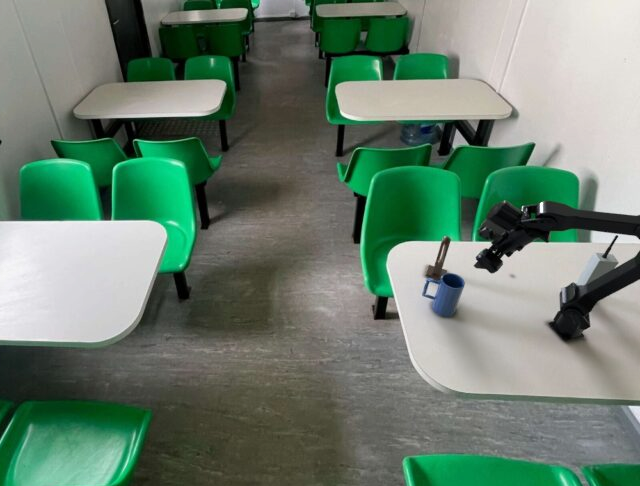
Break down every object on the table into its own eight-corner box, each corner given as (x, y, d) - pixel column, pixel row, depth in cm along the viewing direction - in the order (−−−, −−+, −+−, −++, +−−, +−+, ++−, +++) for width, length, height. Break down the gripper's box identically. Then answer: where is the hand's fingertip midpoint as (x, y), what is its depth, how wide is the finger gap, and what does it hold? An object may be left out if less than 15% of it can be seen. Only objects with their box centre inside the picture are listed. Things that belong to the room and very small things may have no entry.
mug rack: (446, 272, 144) (458, 234, 134) (439, 299, 134) (452, 260, 124) (428, 266, 146) (439, 229, 136) (420, 293, 136) (431, 254, 126)
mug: (455, 305, 132) (466, 277, 125) (452, 320, 127) (463, 291, 120) (422, 294, 136) (430, 266, 129) (418, 308, 132) (426, 280, 124)
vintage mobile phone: (593, 301, 131) (633, 240, 116) (575, 299, 132) (612, 238, 117) (588, 293, 134) (626, 232, 119) (571, 291, 135) (606, 230, 120)
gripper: (511, 198, 122) (476, 223, 135) (479, 232, 113) (446, 255, 126) (543, 226, 119) (504, 249, 132) (513, 263, 110) (475, 283, 123)
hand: (482, 258), depth 129 cm, fingers open, 9 cm apart
